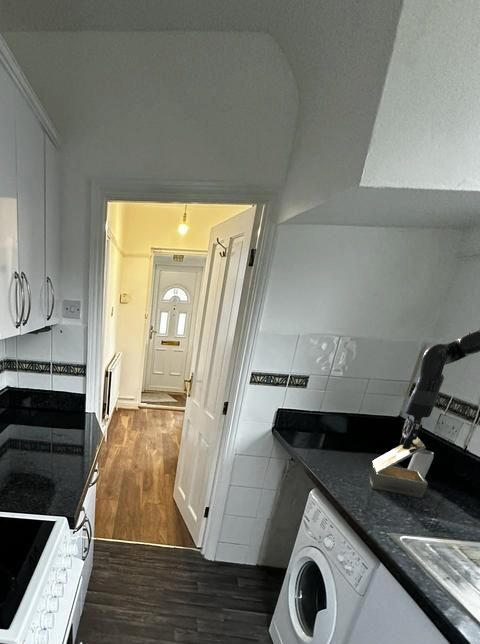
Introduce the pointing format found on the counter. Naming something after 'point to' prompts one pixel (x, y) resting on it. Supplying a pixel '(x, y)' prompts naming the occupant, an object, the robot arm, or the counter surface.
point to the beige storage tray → (398, 481)
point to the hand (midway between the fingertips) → (404, 446)
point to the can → (421, 461)
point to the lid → (397, 455)
